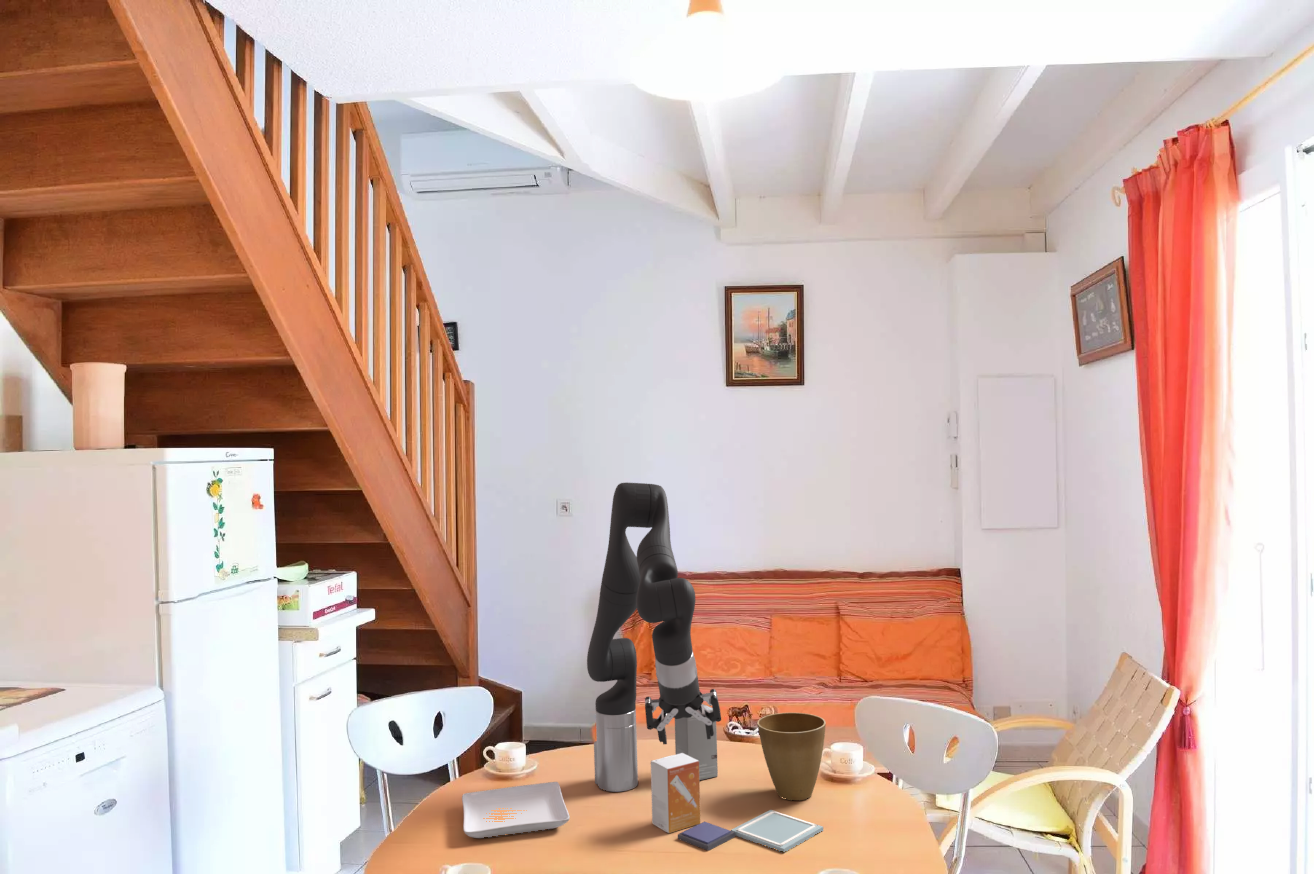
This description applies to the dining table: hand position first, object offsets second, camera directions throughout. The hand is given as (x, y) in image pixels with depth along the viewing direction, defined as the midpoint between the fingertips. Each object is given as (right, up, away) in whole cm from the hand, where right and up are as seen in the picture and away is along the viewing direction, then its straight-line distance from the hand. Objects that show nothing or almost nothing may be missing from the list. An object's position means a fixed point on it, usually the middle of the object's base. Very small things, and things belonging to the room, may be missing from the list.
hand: (686, 738), depth 174 cm
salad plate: (-36, -22, +15) cm, 45 cm away
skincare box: (+4, -21, +37) cm, 43 cm away
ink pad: (+4, -20, +3) cm, 21 cm away
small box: (-2, -21, +10) cm, 23 cm away
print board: (+18, -20, +4) cm, 27 cm away
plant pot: (+24, -20, +23) cm, 39 cm away
